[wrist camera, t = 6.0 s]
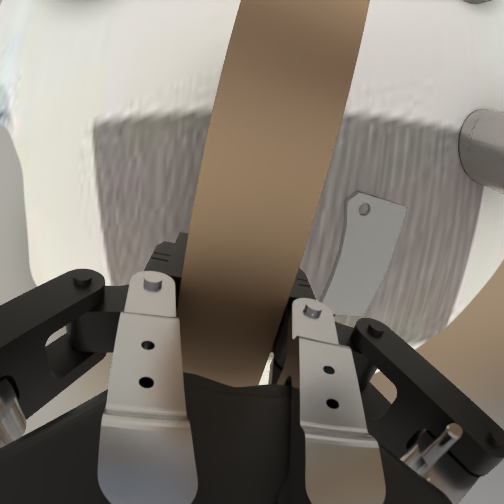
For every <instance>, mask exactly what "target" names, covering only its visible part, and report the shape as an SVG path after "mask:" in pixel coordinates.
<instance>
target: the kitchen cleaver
mask: <svg viewBox="0 0 504 504" xmlns="http://www.w3.org/2000/svg"><path fill="white" fill-rule="evenodd" d="M363 203H367V204H368V206H369V209H368V211H367V213H365V214H359V207H360V206H361V205H362V204H363ZM406 210H407V207H405V206H402V205H399V204H396V203H393V202H390V201H387V200H384V199H381V198H378V197H375V196H371V195H368V194H365V193H362V192H359V191H356V192H354V193H353V194H352V195H350V196H349V197H348V198H346V199H345V218H344V227H343V232H342V238H341V243H340V247H339V252H338V255H337V258H336V261H335V264H334V267H333V270H332V273H331V275H330V278H329V280H328V282H327V285H326V287H325V289H324V291H323V294H322V296H321V298H320V300H319V302H321V303H323V304H325V305H326V306H328V307H329V308H330V310H331V311H332V313H333V316H335V315H348V316H363V317H366V315H367V313H368V311H369V309H370V307H371V305H372V303H373V301H374V298H375V296H376V294H377V292H378V290H379V288H380V285H381V283H382V281H383V279H384V276H385V274H386V272H387V269H388V267H389V264H390V261H391V258H392V255H393V252H394V249H395V246H396V243H397V240H398V237H399V234H400V230H401V227H402V224H403V221H404V217H405V214H406Z"/></svg>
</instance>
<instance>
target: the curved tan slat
mask: <svg viewBox="0 0 504 504" xmlns="http://www.w3.org/2000/svg"><path fill="white" fill-rule="evenodd" d="M369 2H370V0H241V2H240V6H239V9H238V13H237V16H236V20H235V23H234V27H233V30H232V34H231V38H230V42H229V45H228V49H227V53H226V57H225V61H224V65H223V69H222V73H221V77H220V81H219V85H218V89H217V93H216V98H215V102H214V106H213V111H212V115H211V120H210V124H209V129H208V133H207V138H206V143H205V148H204V153H203V157H202V162H201V167H200V173H199V178H198V183H197V188H196V194H195V199H194V205H193V210H192V216H191V222H190V228H189V234H188V240H187V246H186V252H185V259H184V265H183V272H182V279H181V286H180V293H179V301H178V308H177V316H176V317H179V322H180V340H181V355H182V369H183V372H186V373H192V374H196V375H199V376H202V377H205V378H208V379H211V380H214V381H216V382H219V383H222V384H226V385H229V386H232V387H247V386H258V384H259V382H260V379H261V376H262V374H263V371H264V368H265V365H266V362H267V360H268V357H269V354H270V351H271V348H272V346H273V343H274V340H275V337H276V334H277V331H278V328H279V326H280V323H281V320H282V317H283V314H284V311H285V308H286V305H287V302H288V299H289V296H290V293H291V290H292V287H293V284H294V281H295V278H296V275H297V272H298V268H299V265H300V262H301V259H302V256H303V253H304V250H305V246H306V243H307V240H308V237H309V233H310V230H311V227H312V224H313V220H314V217H315V214H316V210H317V207H318V204H319V200H320V197H321V193H322V190H323V187H324V183H325V180H326V176H327V173H328V169H329V165H330V162H331V158H332V155H333V151H334V147H335V144H336V140H337V136H338V133H339V129H340V125H341V121H342V117H343V114H344V110H345V106H346V102H347V98H348V94H349V90H350V86H351V82H352V78H353V74H354V69H355V65H356V61H357V57H358V52H359V48H360V44H361V39H362V35H363V30H364V25H365V21H366V16H367V11H368V7H369Z"/></svg>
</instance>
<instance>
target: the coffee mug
mask: <svg viewBox="0 0 504 504" xmlns="http://www.w3.org/2000/svg"><path fill="white" fill-rule="evenodd" d="M463 1H465V2H468V3H472V4H479V3H483V2H487V1H491V0H463Z"/></svg>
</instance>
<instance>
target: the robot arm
mask: <svg viewBox="0 0 504 504" xmlns="http://www.w3.org/2000/svg"><path fill="white" fill-rule="evenodd" d="M459 152H460V158H461V162H462V165H463V167H464V170H465V171H466V173H467V174H468V176H469V177H470V178H471V179H473V180H474V181H476V182H478V183H480V184H483V185H485V186H487V187H489V188H492V189H494V190H496V191H498V192H500V193H502V194H504V112H501V111H494V110H485V109H480V110H477V111H475V112H473V113H472V114H470V115H469V117H468V118H467V119H466V121H465V123H464V124H463V127H462V130H461V133H460V139H459ZM187 240H188V234H187V233H182V232H180V233H179V236H178V238H177V241H176V243H170V242H163V243H161V244H159V245H157V246H156V248H155V250H154V252H153V254H152V256H151V258H150V260H149V262H148V264H147V266H146V268H145V270H144V271H143V272H139V273H136V274H135V275H133V276H132V277H131V280H130V284H129V285H125V286H105V279H104V277H103V276H102V275H101V274H100V273H98V272H96V271H94V270H90V269H76V270H72V271H69V272H67V273H65V274H63V275H60V276H58V277H56V278H54V279H52V280H50V281H48V282H46V283H44V284H42V285H40V286H38V287H36V288H34V289H32V290H30V291H28V292H26V293H24V294H22V295H20V296H18V297H16V298H14V299H12V300H10V301H8V302H7V303H5V304H3V305H1V306H0V504H458V503H459V502H460V501H461V500H462V499H463V497H464V496H465V495H466V494H467V492H468V491H469V490H470V489H471V488H472V486H473V485H475V484H476V483H477V482H478V481H479V480H481V479H482V478H483V477H484V476H485V475H486V474H488V473H489V472H490V471H491V470H492V469H493V468H494V467H495V466H497V465H498V464H499V463H500V462H501V461H502V460H503V459H504V430H503V429H502V428H501V427H499V425H497V424H496V423H495V422H494V421H493V420H492V419H491V418H490V417H489V416H488V415H487V414H485V412H483V411H482V410H481V409H480V408H479V407H478V406H477V405H476V404H475V403H473V401H471V400H470V399H469V398H468V397H467V396H466V395H465V394H464V393H462V392H461V391H460V390H459V389H458V388H457V387H456V386H455V385H454V384H453V383H451V382H450V381H449V380H448V379H447V378H446V377H445V376H444V375H442V374H441V373H440V372H439V371H438V370H437V369H435V367H433V366H432V365H431V364H430V363H429V362H428V361H427V360H425V359H424V358H423V357H422V356H421V355H420V354H419V353H418V352H416V351H415V350H414V349H413V348H412V347H411V346H409V345H408V344H407V343H406V342H405V341H404V340H403V339H401V338H400V337H399V336H398V335H397V334H396V333H394V332H393V331H392V330H391V329H390V328H389V327H387V326H386V325H385V324H383V323H381V322H380V321H377V320H374V319H371V318H361V319H359V320H358V321H357V323H356V325H355V327H354V328H352V327H349V326H346V325H343V324H340V323H337V322H335V321H334V316H333V313H332V311H331V310H330V308H329V307H328V306H326V305H325V304H323V303H321V302H319V301H317V300H316V299H315V296H314V294H313V291H312V289H311V287H310V284H309V282H308V279H307V277H306V274H305V273H304V272H303V271H302V270H301V269H300V268H298V272H297V275H296V278H295V281H294V284H293V287H292V290H291V293H290V296H289V299H288V302H287V305H286V308H285V311H284V314H283V317H282V320H281V323H280V326H279V328H278V331H277V334H276V337H275V340H274V343H273V346H272V348H271V351H270V352H273V353H274V357H273V359H272V362H271V365H270V373H269V383H268V385H258V386H247V387H232V386H229V385H226V384H222V383H219V382H216V381H214V380H211V379H208V378H205V377H202V376H199V375H196V374H192V373H186V372H183V369H182V355H181V340H180V322H179V317H176V316H177V308H178V301H179V293H180V286H181V279H182V272H183V265H184V259H185V252H186V246H187ZM64 326H66V330H67V333H66V334H64V335H63V336H61V337H60V338H58V339H57V340H55V341H54V342H52V343H51V344H49V345H48V346H46V347H45V344H46V342H47V340H48V338H49V337H50V336H51V335H52V334H53V333H54V332H56V331H58V330H59V329H61V328H62V327H64ZM107 352H113V359H112V365H111V372H110V379H109V387H108V389H107V390H106V391H104V392H102V393H100V394H99V395H97V396H95V397H93V398H92V399H90V400H88V401H86V402H85V403H83V404H81V405H79V406H78V407H76V408H74V409H72V410H70V411H69V412H67V413H65V414H63V415H61V416H59V417H58V418H56V419H54V420H52V421H50V422H48V423H47V424H45V425H43V426H41V427H39V428H37V429H35V430H34V431H32V432H30V433H28V434H26V435H24V436H22V435H23V433H24V432H25V429H26V419H28V418H29V417H30V416H31V415H33V414H34V413H35V412H37V411H38V410H39V409H40V408H42V407H43V406H44V405H45V404H47V403H48V402H49V401H50V400H52V399H53V398H54V397H55V396H57V395H58V394H59V393H60V392H62V391H63V390H64V389H66V388H67V387H68V386H69V385H71V384H72V383H73V382H74V381H75V380H77V379H78V378H79V377H81V376H82V375H83V374H84V373H86V372H87V371H88V370H90V369H91V368H92V367H93V366H95V365H96V364H97V363H98V362H100V361H101V360H102V359H103V358H104V357H105V356H106V353H107ZM377 368H378V369H379V370H380V371H381V372H382V373H383V374H384V375H385V376H386V377H387V378H388V379H389V380H390V381H391V382H392V383H393V384H394V385H395V386H396V389H397V398H396V399H395V401H394V402H393V404H390V402H389V401H388V400H387V399H386V398H385V397H384V396H383V395H382V394H381V393H380V392H379V391H378V390H377V389H376V388H375V387H374V386H373V385H372V384H371V383H370V382H369V381H370V379H371V378H372V376H373V375H374V373H375V371H376V370H377Z"/></svg>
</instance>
